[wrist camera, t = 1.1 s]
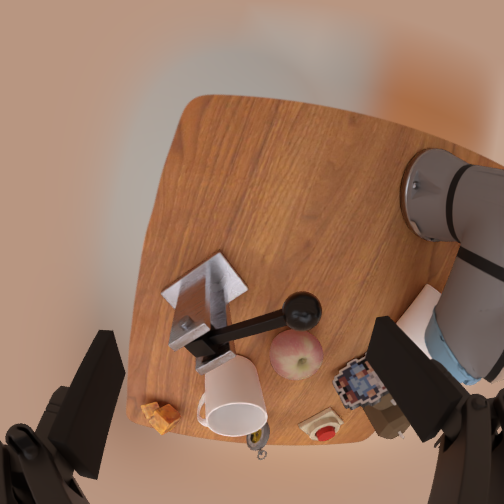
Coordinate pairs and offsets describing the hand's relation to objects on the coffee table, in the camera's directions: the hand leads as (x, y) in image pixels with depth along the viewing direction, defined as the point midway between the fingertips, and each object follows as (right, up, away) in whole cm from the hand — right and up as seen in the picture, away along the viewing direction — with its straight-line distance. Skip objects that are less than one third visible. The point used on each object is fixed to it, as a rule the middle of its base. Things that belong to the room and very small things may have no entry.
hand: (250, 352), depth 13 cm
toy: (+20, -15, +34) cm, 42 cm away
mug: (-5, -16, +31) cm, 35 cm away
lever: (0, -1, +13) cm, 13 cm away
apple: (+6, -9, +30) cm, 32 cm away
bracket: (-6, 0, +25) cm, 26 cm away
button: (+16, -34, +37) cm, 53 cm away
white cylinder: (+29, -12, +30) cm, 43 cm away
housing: (+15, -33, +40) cm, 54 cm away
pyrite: (-16, -24, +32) cm, 43 cm away
